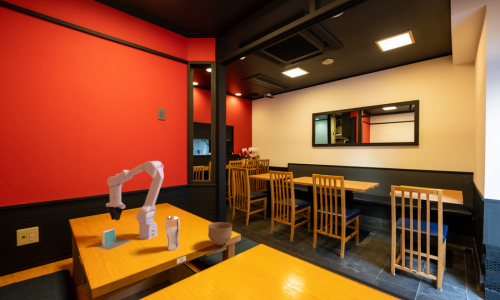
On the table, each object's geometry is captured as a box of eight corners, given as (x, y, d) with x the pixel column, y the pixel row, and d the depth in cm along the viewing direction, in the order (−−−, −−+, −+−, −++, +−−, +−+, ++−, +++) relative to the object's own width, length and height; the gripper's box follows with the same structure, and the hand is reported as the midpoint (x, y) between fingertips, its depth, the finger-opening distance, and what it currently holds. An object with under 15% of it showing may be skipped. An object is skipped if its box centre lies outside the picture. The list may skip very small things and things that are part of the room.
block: (115, 241, 114) (115, 228, 114) (104, 246, 108) (104, 232, 108) (113, 240, 115) (113, 228, 115) (102, 245, 109) (101, 231, 109)
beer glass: (164, 251, 102) (164, 220, 102) (166, 245, 109) (166, 216, 109) (179, 249, 104) (179, 219, 104) (180, 243, 111) (180, 215, 111)
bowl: (237, 241, 112) (237, 222, 112) (222, 251, 101) (221, 230, 102) (219, 236, 119) (218, 219, 119) (203, 245, 108) (202, 226, 108)
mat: (131, 241, 115) (131, 240, 115) (108, 251, 104) (108, 250, 104) (116, 238, 120) (116, 237, 120) (94, 247, 109) (94, 246, 109)
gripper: (130, 196, 124) (130, 219, 124) (114, 194, 130) (114, 216, 130) (118, 198, 118) (118, 222, 117) (102, 196, 123) (102, 219, 123)
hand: (115, 219), depth 123 cm, fingers open, 3 cm apart
